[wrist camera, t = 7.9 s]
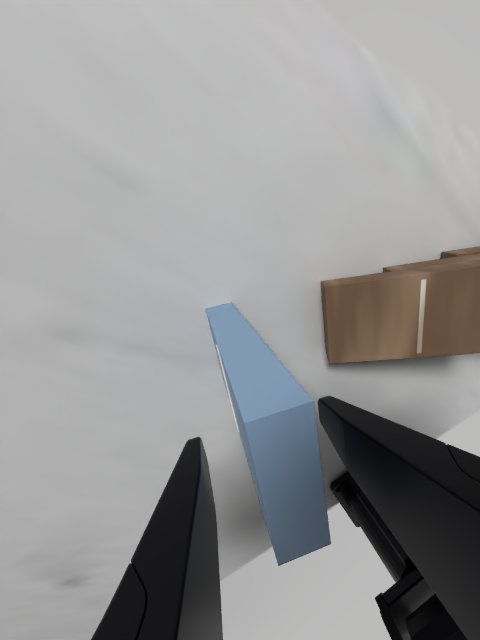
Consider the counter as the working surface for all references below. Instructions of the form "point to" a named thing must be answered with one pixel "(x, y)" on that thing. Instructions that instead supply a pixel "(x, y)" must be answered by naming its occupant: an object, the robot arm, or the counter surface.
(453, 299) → the domino
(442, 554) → the robot arm
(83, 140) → the counter surface
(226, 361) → the blue domino
